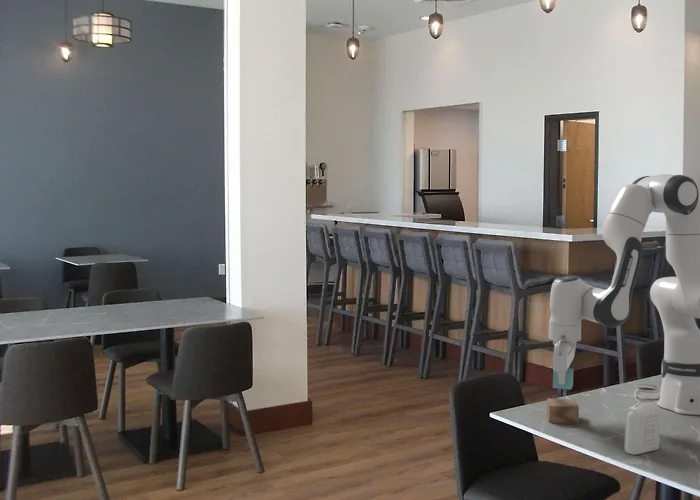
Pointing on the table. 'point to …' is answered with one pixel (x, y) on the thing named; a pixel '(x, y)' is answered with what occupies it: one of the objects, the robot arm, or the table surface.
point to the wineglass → (646, 393)
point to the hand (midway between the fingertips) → (563, 381)
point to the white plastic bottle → (642, 428)
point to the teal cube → (568, 382)
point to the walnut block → (562, 411)
